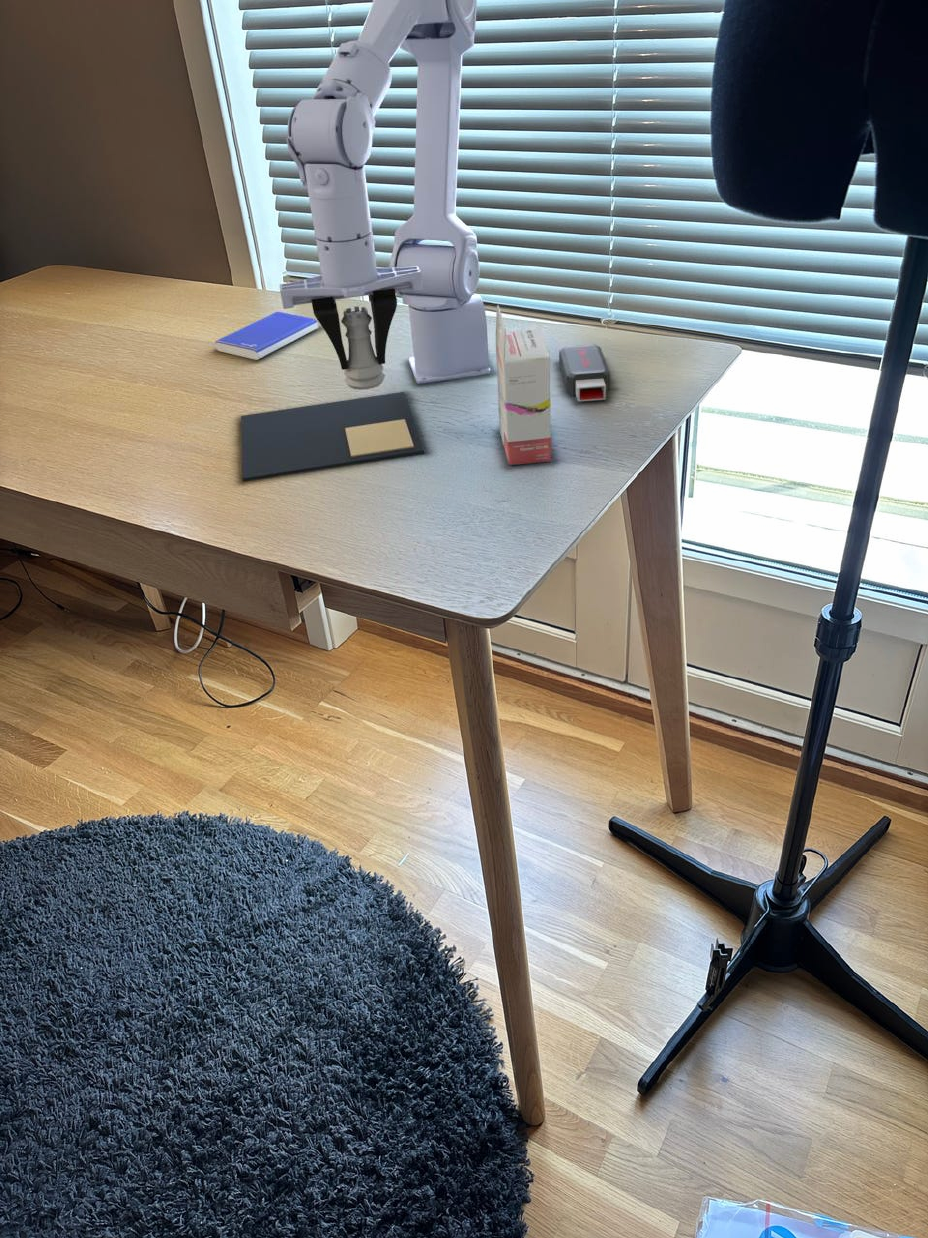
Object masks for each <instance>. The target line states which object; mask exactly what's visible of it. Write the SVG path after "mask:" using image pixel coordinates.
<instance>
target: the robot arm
mask: <svg viewBox="0 0 928 1238" xmlns="http://www.w3.org/2000/svg"><path fill="white" fill-rule="evenodd" d="M477 2H478V0H372V5H371V7H370V9H369V12H368V14H367V16H366V18H365V21H364V24H363V26H362V29H361V31H360V33H359V36H358V38H357V39H356V40H349V41H347V42H342V43H340V45H339V47H338V49H337V53H336V54H335V56H334V58H333V60H332V61H331V63H330V65H329V67H328V69H327V70H326V72H325V74H324V76H323V77H322V80H321V81H320V83H319V85H318V86H317V88H316V89H315V92H314V94H313V95H312V97H311V98H305V99H302V100H301V101H299V102H298V104H296V105H295V106H294V107H293V108H292V110H291V111H290V113H289V116H288V120H287V138H286V145H287V149H288V152H289V155H290V157H291V159H292V160H293V162H294V163H295V164H296V167H297V169H298V175H299V179H300V180H299V181H300V182H301V184H302V186H303V187H305V188H307V194H308V201H309V206H310V212H311V218H312V225H313V231H314V237H315V243H316V249H317V256H318V262H319V269H320V275H317V276H313V277H309V278H304V279H300V280H296V281H292V282H287V283H280V284H279V285H278V286H279V294H280V299H281V305H282V308H283V309H284V310H285V309H286V310H287V309H293V308H294V307H295V306H299V305H307V304H311V307H312V311H313V312H312V313H313V315H314V317H315V319H316V320H317V323H319V324H320V326H321V327H322V329H323V330H324V332H325V334H326V335H327V337H328V338H329V340H330V343H331V344H332V346H333V348H334V350H335V353H336V355H337V357H338V360H339V364H340V369H341V370H342V371H343V370H345V369H348V363H347V360H348V359H347V356H346V351H345V347H344V343H343V337H342V329H341V324H340V323H341V321H340V314H339V310H338V305H337V301H338V300H343V299H350V298H358V297H364V296H369V300H370V307H371V314H372V321H373V329H374V346H375V347H374V348H375V356H376V357H377V358H378V363H379V364H382V365H383V364H384V365H385V364H386V349H387V341H388V337H389V331H390V328H391V324H392V321H393V319H394V316H395V313H396V311H397V308H398V298H397V296H398V297H399V296H400V297H402V298H401V299H402V304H403V305H408V313H409V314H408V315H409V322H410V324H409V325H410V333H411V342H412V350H413V352H412V353H413V356H410V357H409V358H408V359H407V360H408V364H409V366H410V368H411V371H412V374H413V377H414V379H415V382H416V383H417V384H419V385H422V384H428V383H429V384H430V383H435V382H441V381H448V380H449V381H451V380H456V379H462V378H469V377H470V378H471V377H476V376H482V375H489V374H491V368H490V355H489V339H488V338H489V337H488V323H487V315H486V309H485V304H484V301H483V298H482V296H481V295H480V294H475V293H476V291H477V290H478V289H477V288H478V286H479V282H480V281H479V280H480V261H479V256H478V240H477V238H478V237H477V235H476V234H475V233H474V232H473V230H472V229H471V228H470V227H469V226H467V225H466V224H465V223H464V222H463V221H462V220H461V218H459V217H458V216H457V214H456V211H457V210H456V208H457V186H458V162H459V141H460V140H459V139H460V115H461V95H462V94H461V93H462V92H461V90H462V73H463V72H462V69H463V55H464V54H465V53H467V52H468V51H470V49H472V48H473V47H474V46H475V34H476V27H477V5H478V3H477ZM399 49H400V50H403V51H404V52H407V53H409V54H411V55H412V56H413V58H414V60H415V62H416V64H417V78H416V79H417V83H416V85H417V86H416V114H415V115H416V117H415V119H416V121H415V152H414V154H415V155H414V185H413V186H414V187H413V214H412V216H411V217H410V218H408V219H407V220H406V221H405V222H404V223H403V224H402V225H401V226H399V227H398V228H397V229H396V230H395V232H394V239H393V247H392V253H391V256H390V259H389V266H388V267H378V265H377V258H376V249H375V241H374V232H373V227H372V218H371V211H370V210H371V209H370V202H369V195H368V185H367V178H366V169H365V164H366V163H367V161H368V160H369V159H370V157H371V154H372V149H373V136H374V131H375V129H376V119H375V116H376V114H377V113H378V109H380V106H381V104H382V102H383V101H384V99H385V96H386V95H387V93H388V91H389V89H390V88H391V85H392V81H393V79H392V78H393V76H392V70H391V69H392V68H391V66H390V62H391V61H392V59H394V56H395V55H396V53H397V52H398V51H399ZM422 241H446V242H449V243H451V244H452V245H447V244H446V245H445V244H429V243H427V244H426V243H421V242H422ZM396 294H397V296H396ZM336 300H337V301H336Z"/></svg>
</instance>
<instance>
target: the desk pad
mask: <svg viewBox="0 0 928 1238" xmlns="http://www.w3.org/2000/svg"><path fill="white" fill-rule="evenodd" d="M240 436H241V437H240V439H241V440H240V441H241V443H240V444H241V481H242V482H249V481H255V480H261V479H268V478H273V477H275V478H276V477H281V476H287V475H292V474H301V473H305V472H313V471H314V472H315V471H319V470H325V469H332V468H339V467H345V466H351V465H358V464H364V463H371V462H377V461H384V460H390V459H396V458H402V457H411V456H414V455H421V454H422V455H423V454H425V449H424V445H423V443H422V440H421V437H420V435H419V432H418V429H417V426H416V423H415V420H414V417H413V414H412V412H411V409H410V407H409V403H408V399H407V397H406V394H405V391H400V392H393V393H387V394H380V395H372V396H366V397H360V398H353V399H352V398H351V399H346V400H339V401H334V402H333V401H332V402H325V403H319V404H313V405H306V406H299V407H298V406H297V407H293V408H285V409H279V410H271V411H266V412H258V413H252V414H245V415H241V416H240Z"/></svg>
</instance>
